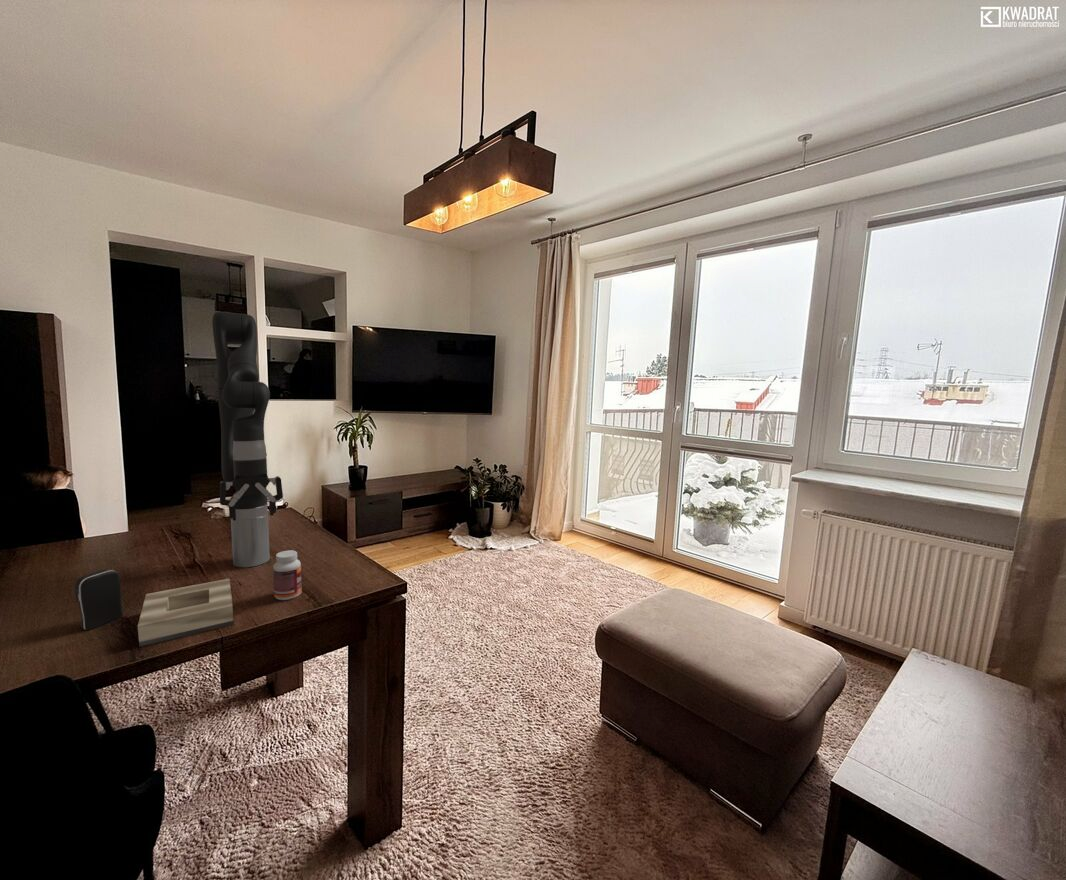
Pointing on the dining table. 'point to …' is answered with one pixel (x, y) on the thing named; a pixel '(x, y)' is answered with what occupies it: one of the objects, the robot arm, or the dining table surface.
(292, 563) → the pill bottle
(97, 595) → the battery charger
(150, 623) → the socket block
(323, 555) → the dining table surface
